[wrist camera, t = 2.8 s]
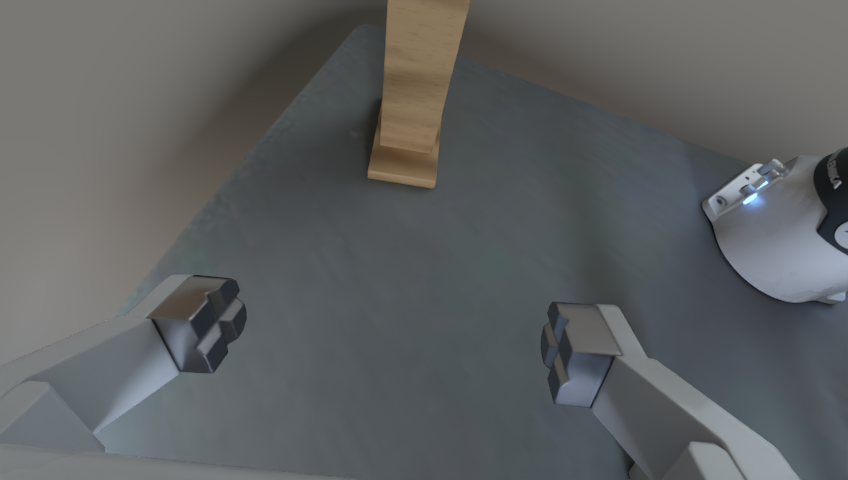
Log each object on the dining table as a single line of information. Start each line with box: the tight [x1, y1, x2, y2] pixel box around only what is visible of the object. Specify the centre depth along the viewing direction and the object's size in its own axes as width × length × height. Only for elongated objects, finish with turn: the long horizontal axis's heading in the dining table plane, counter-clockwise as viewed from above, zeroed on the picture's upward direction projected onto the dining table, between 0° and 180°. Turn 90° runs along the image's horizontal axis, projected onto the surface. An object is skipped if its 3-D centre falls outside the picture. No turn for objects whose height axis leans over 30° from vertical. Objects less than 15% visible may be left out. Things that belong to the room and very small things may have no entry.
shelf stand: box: [368, 0, 470, 189], centre depth 34 cm, size 14×8×26 cm, turn 175°
